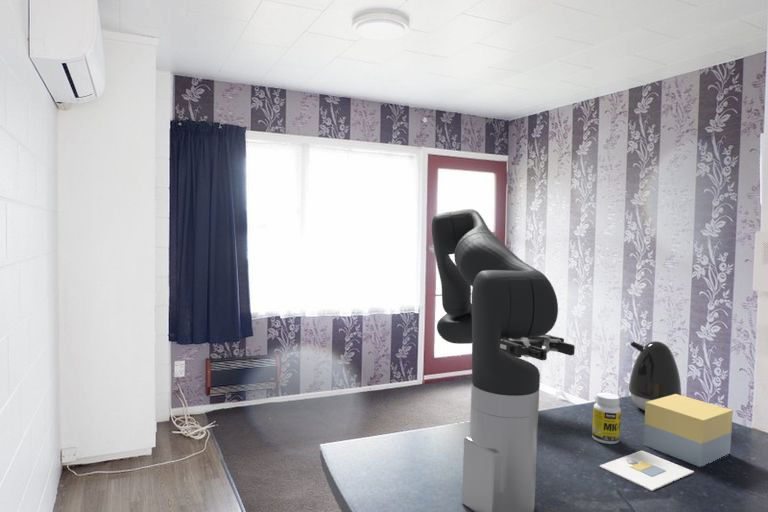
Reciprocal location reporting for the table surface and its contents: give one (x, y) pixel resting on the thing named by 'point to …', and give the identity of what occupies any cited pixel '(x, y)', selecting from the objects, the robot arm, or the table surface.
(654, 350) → the pump dispenser
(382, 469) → the table surface
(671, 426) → the yellow and grey block
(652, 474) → the page
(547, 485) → the table surface
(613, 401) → the supplement bottle
